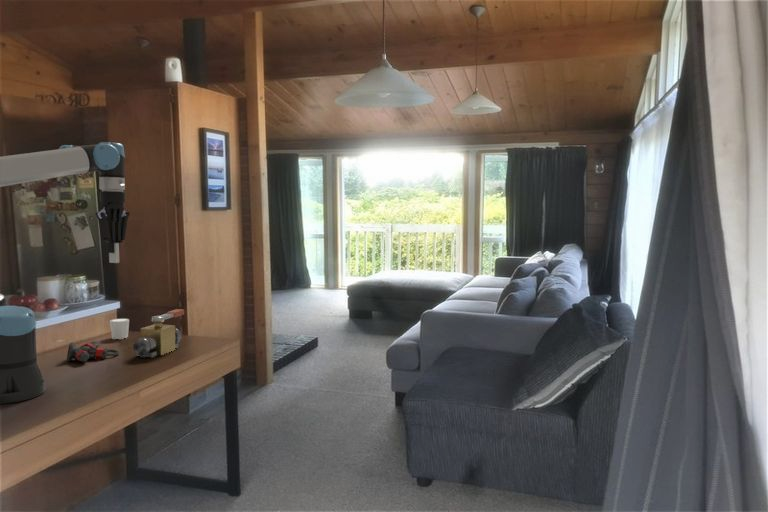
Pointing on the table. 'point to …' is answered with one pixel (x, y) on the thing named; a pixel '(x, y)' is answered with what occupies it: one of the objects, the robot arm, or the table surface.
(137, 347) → the pipe valve
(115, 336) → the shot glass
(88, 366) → the table surface
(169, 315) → the lever
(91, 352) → the valve
